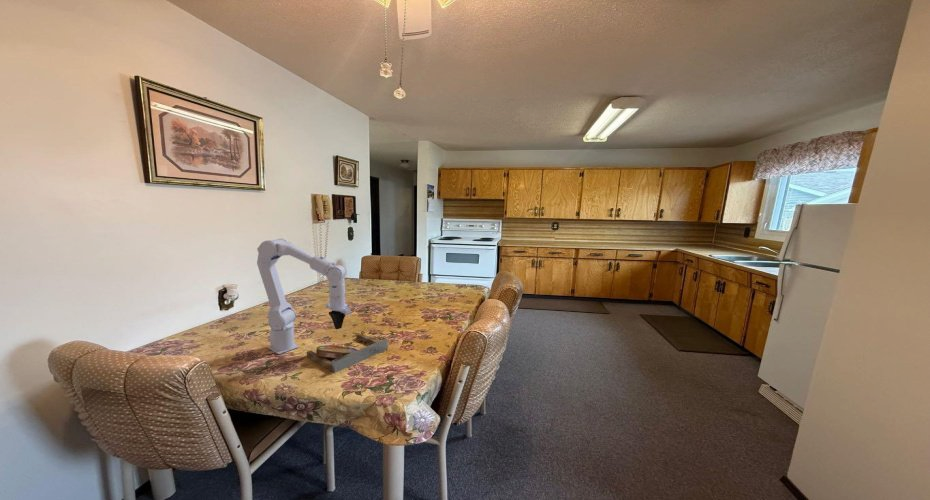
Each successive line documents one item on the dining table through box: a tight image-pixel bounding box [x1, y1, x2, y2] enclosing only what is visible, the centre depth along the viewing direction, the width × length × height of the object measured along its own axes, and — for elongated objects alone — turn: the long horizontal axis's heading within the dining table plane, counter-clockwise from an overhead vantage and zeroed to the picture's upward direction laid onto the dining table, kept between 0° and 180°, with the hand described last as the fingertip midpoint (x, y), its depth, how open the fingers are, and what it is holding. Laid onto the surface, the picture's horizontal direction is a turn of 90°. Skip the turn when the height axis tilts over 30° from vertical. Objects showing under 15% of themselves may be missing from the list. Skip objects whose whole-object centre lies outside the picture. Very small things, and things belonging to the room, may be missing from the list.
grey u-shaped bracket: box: [306, 332, 389, 374], centre depth 118 cm, size 19×23×4 cm
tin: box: [315, 344, 358, 360], centre depth 113 cm, size 15×3×8 cm
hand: (338, 328), depth 121 cm, fingers closed
